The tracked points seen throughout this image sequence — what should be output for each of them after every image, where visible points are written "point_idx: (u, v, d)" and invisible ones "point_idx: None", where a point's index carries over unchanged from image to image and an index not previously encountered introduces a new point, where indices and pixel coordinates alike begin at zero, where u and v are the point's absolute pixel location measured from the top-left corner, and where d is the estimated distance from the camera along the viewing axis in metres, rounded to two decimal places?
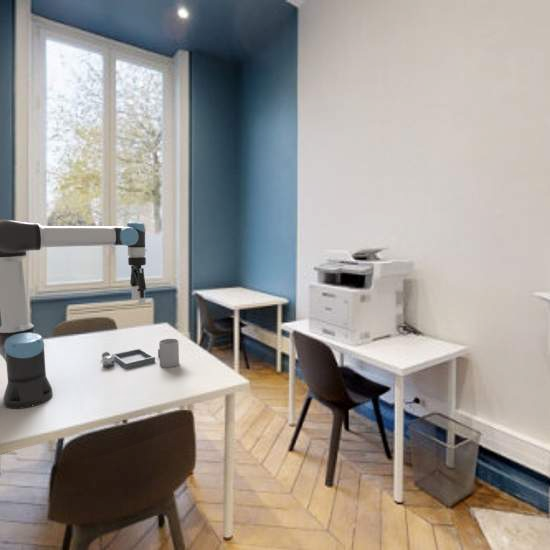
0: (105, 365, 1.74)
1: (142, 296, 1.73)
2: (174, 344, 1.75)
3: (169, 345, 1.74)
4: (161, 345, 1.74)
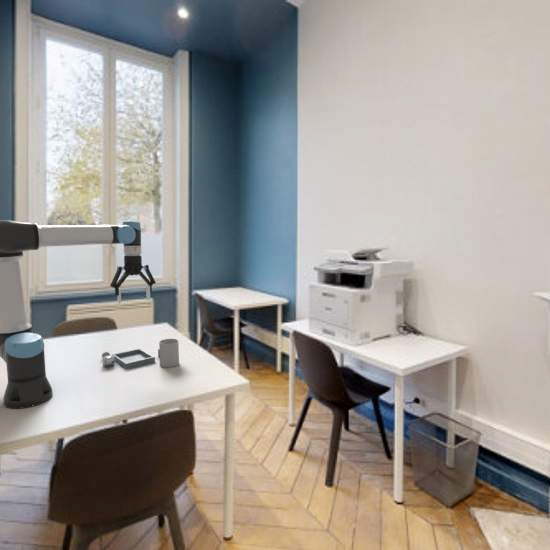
0: (105, 365, 1.74)
1: (115, 293, 1.75)
2: (174, 344, 1.75)
3: (169, 345, 1.74)
4: (161, 345, 1.74)
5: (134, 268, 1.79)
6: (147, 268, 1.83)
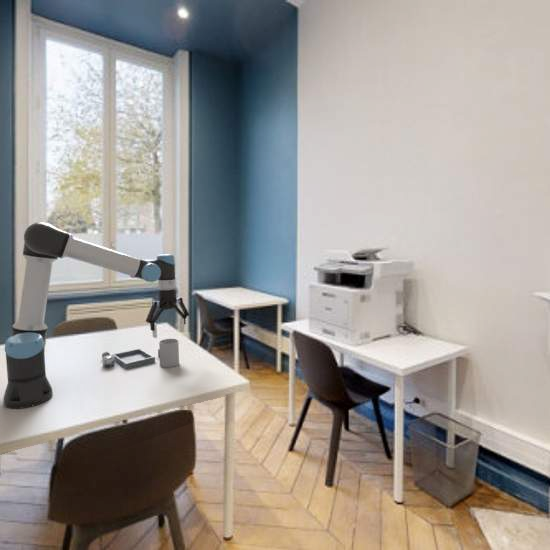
0: (105, 365, 1.74)
1: (151, 329, 1.73)
2: (174, 344, 1.75)
3: (169, 345, 1.74)
4: (161, 345, 1.74)
5: (169, 302, 1.76)
6: (181, 301, 1.80)
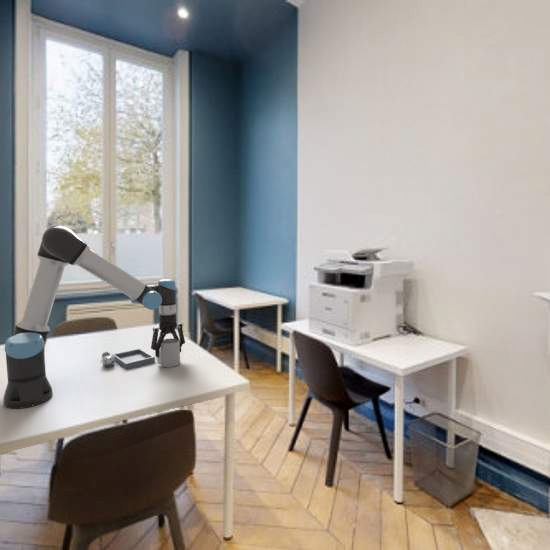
0: (105, 365, 1.74)
1: (156, 355, 1.76)
2: (175, 344, 1.75)
3: (170, 345, 1.74)
4: (162, 345, 1.75)
5: (169, 327, 1.78)
6: (181, 327, 1.82)
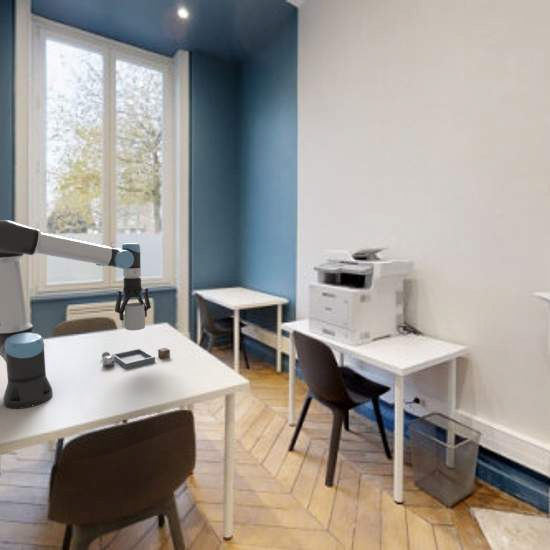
0: (105, 365, 1.74)
1: (120, 318, 1.76)
2: (139, 307, 1.76)
3: (134, 308, 1.75)
4: (126, 308, 1.75)
5: (133, 290, 1.78)
6: (146, 291, 1.82)
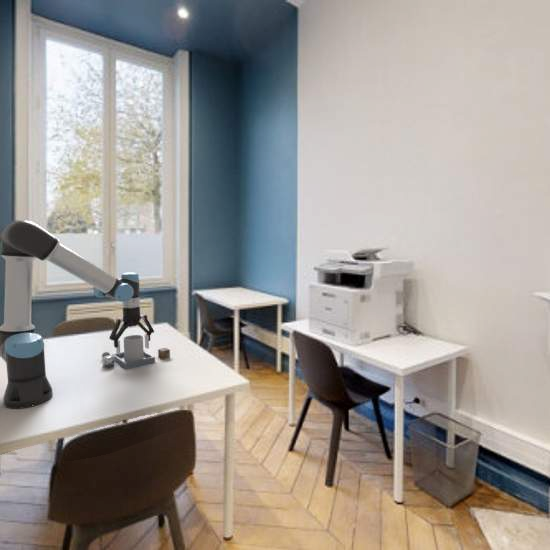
0: (105, 365, 1.74)
1: (114, 346, 1.77)
2: (138, 340, 1.78)
3: (132, 341, 1.77)
4: (125, 341, 1.77)
5: (133, 319, 1.80)
6: (146, 318, 1.84)
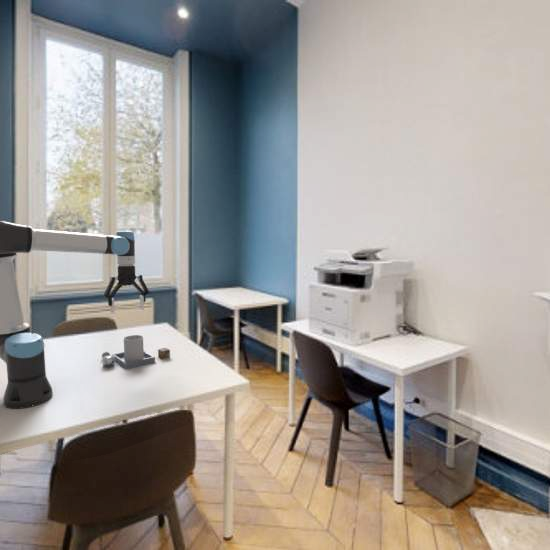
0: (105, 365, 1.74)
1: (108, 304, 1.74)
2: (138, 340, 1.78)
3: (133, 341, 1.77)
4: (125, 341, 1.77)
5: (127, 278, 1.78)
6: (141, 278, 1.82)
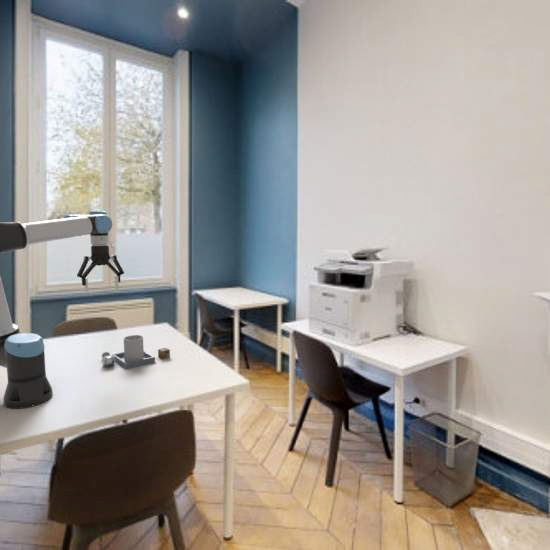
0: (105, 365, 1.74)
1: (82, 283, 1.75)
2: (138, 340, 1.78)
3: (133, 341, 1.77)
4: (125, 341, 1.77)
5: (101, 258, 1.79)
6: (115, 258, 1.83)
